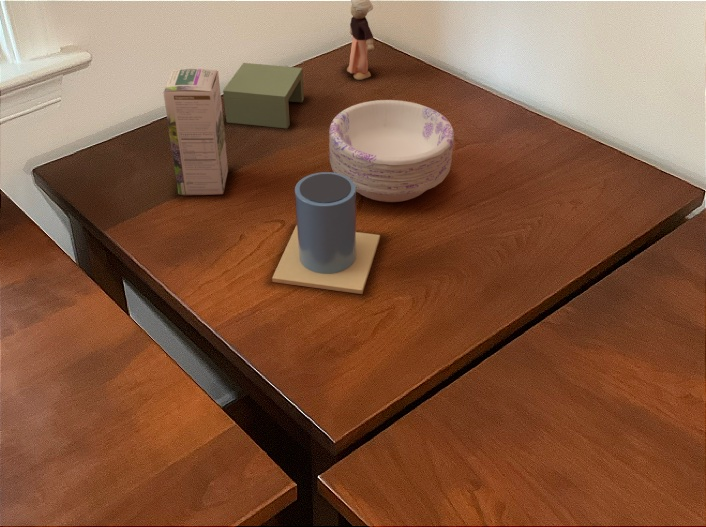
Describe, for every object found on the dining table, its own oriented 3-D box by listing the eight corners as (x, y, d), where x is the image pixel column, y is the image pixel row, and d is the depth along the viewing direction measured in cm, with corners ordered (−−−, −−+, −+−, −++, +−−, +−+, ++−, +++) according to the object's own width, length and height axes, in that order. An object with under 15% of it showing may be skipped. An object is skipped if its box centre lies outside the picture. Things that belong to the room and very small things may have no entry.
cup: (292, 269, 90) (287, 201, 84) (307, 235, 94) (303, 168, 89) (349, 277, 88) (348, 208, 83) (361, 242, 93) (361, 174, 88)
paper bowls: (475, 187, 103) (481, 132, 98) (381, 232, 96) (381, 174, 91) (397, 139, 112) (399, 86, 107) (306, 176, 105) (303, 121, 100)
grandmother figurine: (336, 68, 129) (334, -11, 121) (356, 62, 131) (355, -16, 123) (364, 87, 124) (364, 5, 116) (384, 80, 126) (385, -1, 118)
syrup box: (185, 171, 106) (168, 67, 97) (230, 170, 106) (218, 67, 97) (178, 196, 102) (160, 90, 93) (225, 195, 102) (212, 89, 93)
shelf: (226, 122, 116) (222, 90, 113) (246, 93, 123) (243, 62, 120) (287, 128, 115) (285, 96, 112) (304, 99, 122) (302, 67, 119)
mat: (272, 282, 89) (271, 278, 88) (296, 228, 96) (296, 224, 96) (362, 294, 87) (362, 290, 87) (380, 238, 95) (380, 234, 94)
